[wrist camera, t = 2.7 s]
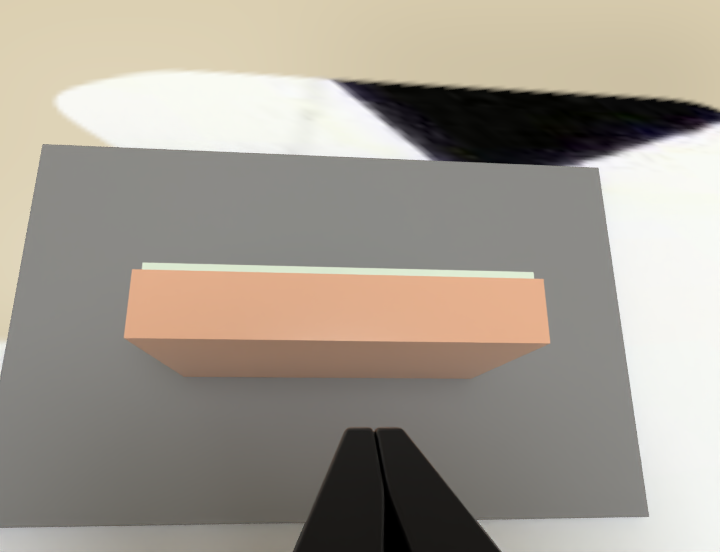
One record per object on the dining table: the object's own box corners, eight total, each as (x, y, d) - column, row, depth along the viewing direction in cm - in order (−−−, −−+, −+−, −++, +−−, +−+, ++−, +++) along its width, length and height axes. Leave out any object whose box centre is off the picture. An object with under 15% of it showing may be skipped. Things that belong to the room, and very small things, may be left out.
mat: (642, 515, 22) (649, 516, 21) (-21, 526, 20) (-28, 528, 19) (594, 172, 26) (598, 167, 26) (46, 149, 24) (42, 144, 24)
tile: (471, 378, 22) (550, 343, 15) (183, 376, 21) (123, 337, 14) (468, 327, 23) (542, 270, 16) (188, 323, 22) (133, 260, 15)
